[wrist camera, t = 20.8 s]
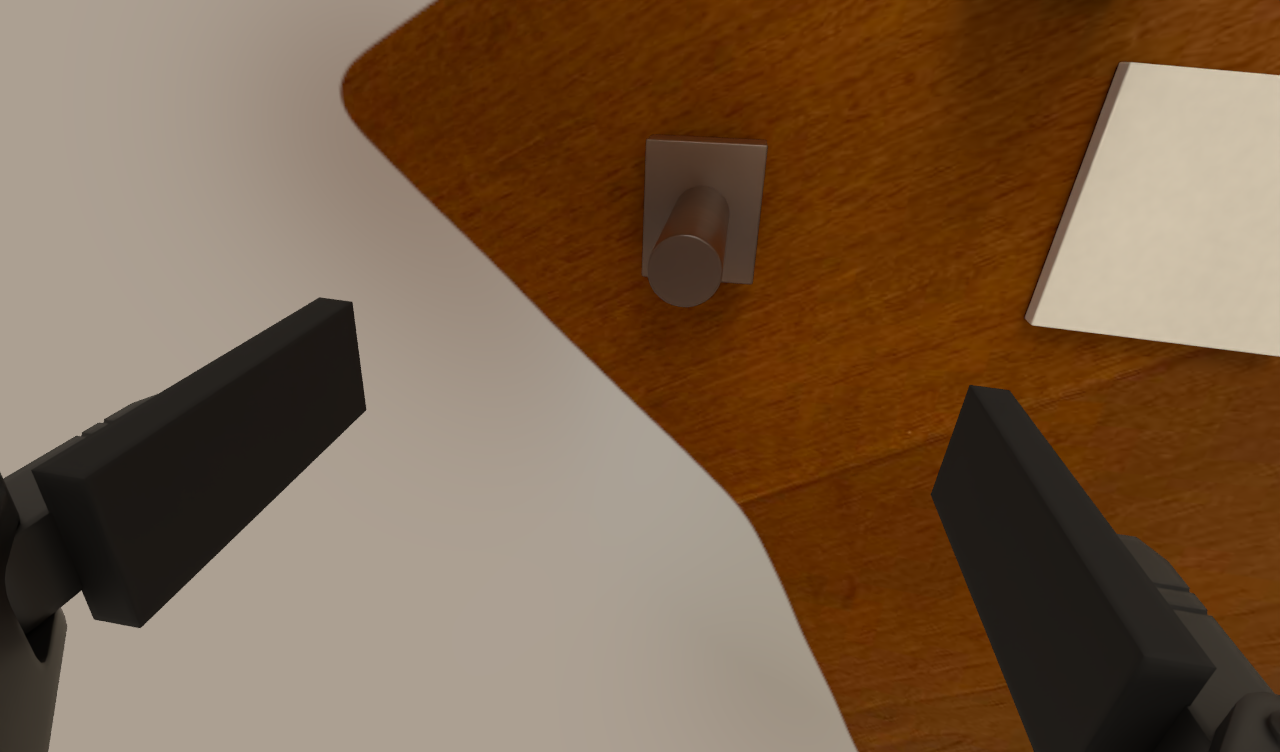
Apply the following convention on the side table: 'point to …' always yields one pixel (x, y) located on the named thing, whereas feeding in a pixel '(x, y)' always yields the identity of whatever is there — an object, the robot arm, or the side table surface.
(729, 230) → the stamp
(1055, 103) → the side table surface
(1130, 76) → the tile
